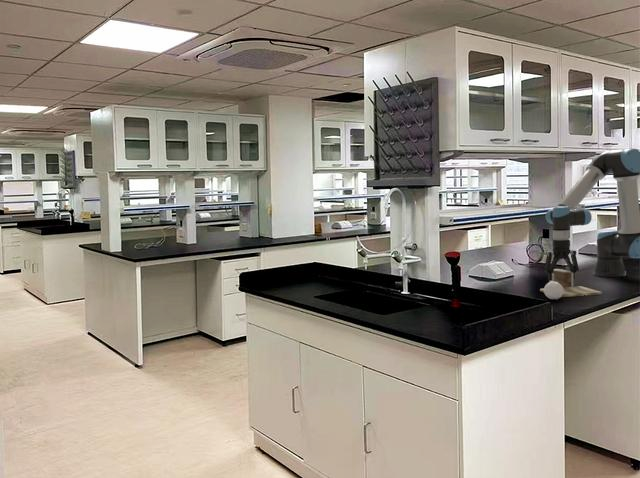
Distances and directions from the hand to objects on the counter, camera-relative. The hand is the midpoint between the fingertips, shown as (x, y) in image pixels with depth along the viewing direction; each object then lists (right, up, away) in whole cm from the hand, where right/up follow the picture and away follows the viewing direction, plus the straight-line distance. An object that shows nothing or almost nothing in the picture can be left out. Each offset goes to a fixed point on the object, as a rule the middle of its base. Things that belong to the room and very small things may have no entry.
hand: (561, 286), depth 269 cm
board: (-2, -2, -14) cm, 15 cm away
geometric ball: (-15, -3, -27) cm, 31 cm away
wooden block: (0, 0, 0) cm, 0 cm away
